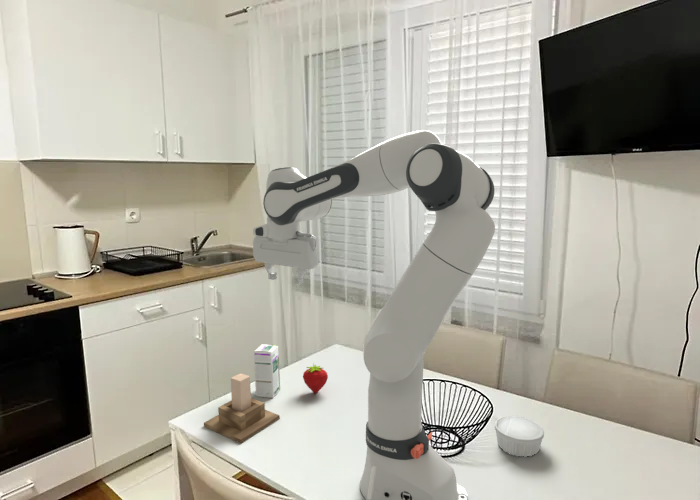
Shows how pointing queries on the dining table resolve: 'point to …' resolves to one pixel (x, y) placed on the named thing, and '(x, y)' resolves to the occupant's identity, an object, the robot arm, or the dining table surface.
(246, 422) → the wooden peg socket base
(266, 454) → the dining table surface
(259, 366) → the syrup box
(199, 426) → the dining table surface
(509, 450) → the ramekin
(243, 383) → the peach rectangular block
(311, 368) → the strawberry
